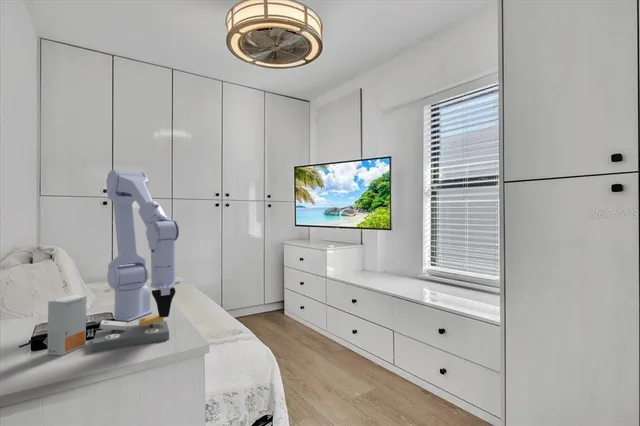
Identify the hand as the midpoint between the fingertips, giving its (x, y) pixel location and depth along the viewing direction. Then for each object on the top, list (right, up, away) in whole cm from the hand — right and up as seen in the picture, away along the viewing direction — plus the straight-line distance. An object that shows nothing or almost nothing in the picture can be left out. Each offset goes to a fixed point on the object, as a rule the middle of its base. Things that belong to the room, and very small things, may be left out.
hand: (164, 316), depth 88 cm
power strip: (-5, -4, -5) cm, 8 cm away
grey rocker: (-10, 0, -5) cm, 11 cm away
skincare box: (-17, -4, -12) cm, 21 cm away
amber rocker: (-3, 0, -1) cm, 3 cm away
